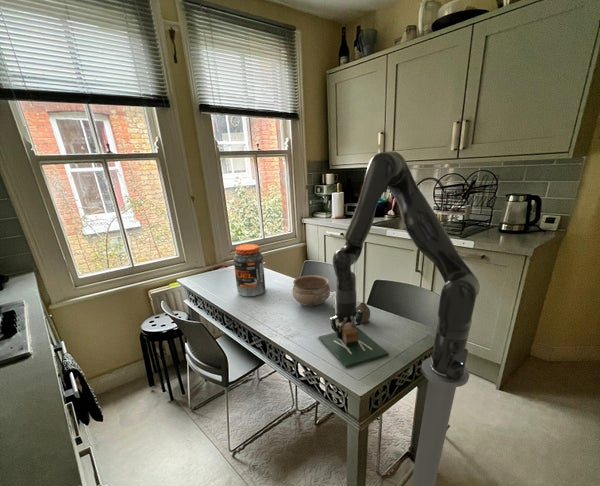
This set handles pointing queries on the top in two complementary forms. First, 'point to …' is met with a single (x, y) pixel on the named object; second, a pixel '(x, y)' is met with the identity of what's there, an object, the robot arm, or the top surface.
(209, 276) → the top surface
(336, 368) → the top surface
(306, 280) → the cooking pot
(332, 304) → the mug
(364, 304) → the vase
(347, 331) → the eraser
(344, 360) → the slate board
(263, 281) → the supplement tub
